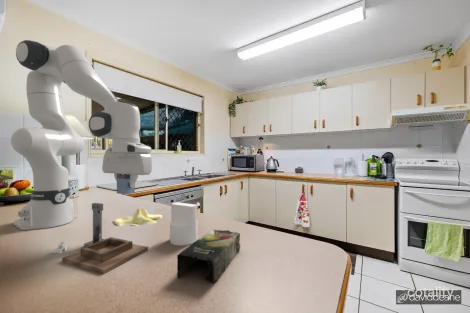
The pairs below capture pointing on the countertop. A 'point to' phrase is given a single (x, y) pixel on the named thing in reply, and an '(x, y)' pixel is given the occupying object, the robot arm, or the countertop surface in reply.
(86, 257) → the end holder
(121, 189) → the grey banded block
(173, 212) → the cylinder with rectangular tab
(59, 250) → the white irregular angular piece
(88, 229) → the countertop surface
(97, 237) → the post
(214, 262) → the juice carton
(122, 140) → the robot arm
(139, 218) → the cloth
